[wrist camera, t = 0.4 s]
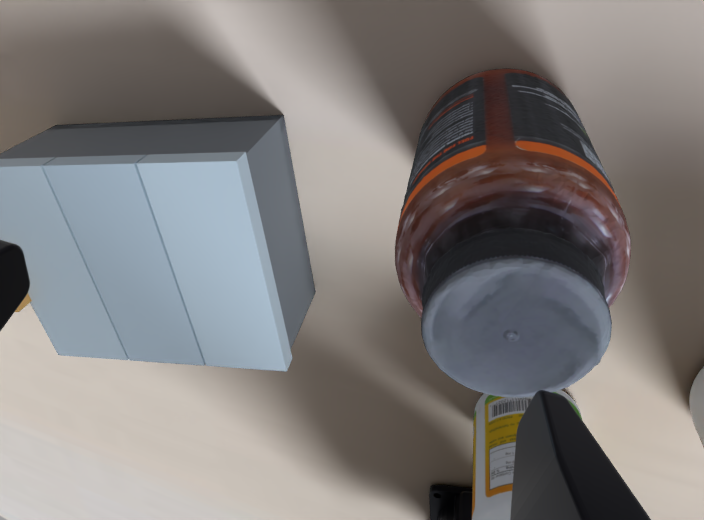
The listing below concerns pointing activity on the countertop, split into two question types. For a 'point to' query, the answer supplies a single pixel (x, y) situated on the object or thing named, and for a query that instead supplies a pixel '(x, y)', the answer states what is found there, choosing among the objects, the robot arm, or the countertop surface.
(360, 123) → the countertop surface
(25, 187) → the lid
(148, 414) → the countertop surface
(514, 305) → the supplement bottle
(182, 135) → the tub
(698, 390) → the pill bottle
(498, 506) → the supplement bottle
